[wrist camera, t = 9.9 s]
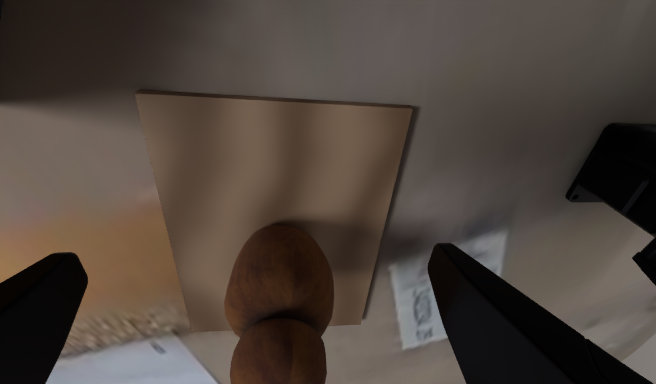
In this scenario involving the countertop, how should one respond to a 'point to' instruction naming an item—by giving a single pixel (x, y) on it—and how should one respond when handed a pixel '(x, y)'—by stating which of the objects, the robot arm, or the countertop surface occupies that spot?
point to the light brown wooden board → (271, 185)
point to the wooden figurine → (279, 308)
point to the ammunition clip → (1, 6)
